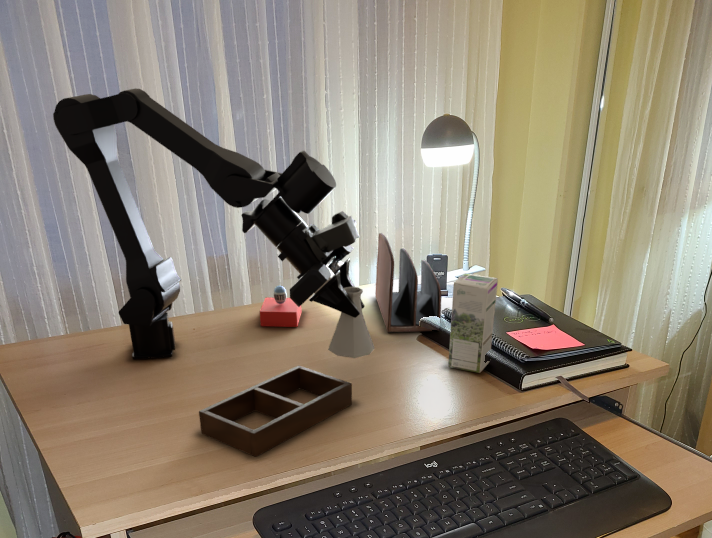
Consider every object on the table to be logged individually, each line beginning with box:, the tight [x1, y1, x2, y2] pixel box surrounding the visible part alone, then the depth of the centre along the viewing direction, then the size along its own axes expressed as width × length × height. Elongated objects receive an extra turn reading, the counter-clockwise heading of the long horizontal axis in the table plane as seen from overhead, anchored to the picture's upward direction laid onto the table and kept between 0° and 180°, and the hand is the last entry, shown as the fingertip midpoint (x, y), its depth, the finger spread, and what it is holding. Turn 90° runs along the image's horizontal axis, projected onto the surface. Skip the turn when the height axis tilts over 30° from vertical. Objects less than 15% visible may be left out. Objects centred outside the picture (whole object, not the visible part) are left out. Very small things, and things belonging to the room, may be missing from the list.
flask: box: [327, 286, 376, 359], centre depth 122 cm, size 7×7×10 cm
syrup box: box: [447, 273, 499, 374], centre depth 125 cm, size 6×6×14 cm
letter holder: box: [374, 232, 442, 334], centre depth 145 cm, size 10×20×14 cm, turn 7°
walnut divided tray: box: [198, 365, 353, 458], centre depth 110 cm, size 11×20×4 cm, turn 143°
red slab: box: [259, 285, 302, 328], centre depth 144 cm, size 8×7×6 cm
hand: (360, 312), depth 120 cm, fingers closed on flask, 3 cm apart
